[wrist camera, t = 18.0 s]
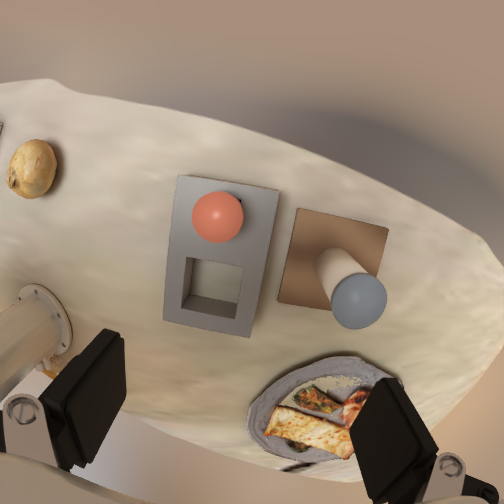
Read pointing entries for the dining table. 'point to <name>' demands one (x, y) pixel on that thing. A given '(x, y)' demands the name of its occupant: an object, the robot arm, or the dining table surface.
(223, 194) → the red round-topped peg
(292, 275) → the pad
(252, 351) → the dining table surface
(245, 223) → the housing
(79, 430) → the robot arm
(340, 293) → the cylinder
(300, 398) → the food plate
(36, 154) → the onion
